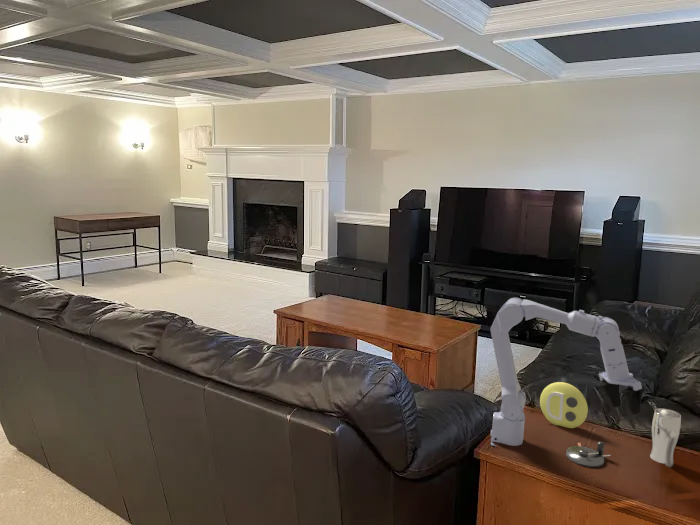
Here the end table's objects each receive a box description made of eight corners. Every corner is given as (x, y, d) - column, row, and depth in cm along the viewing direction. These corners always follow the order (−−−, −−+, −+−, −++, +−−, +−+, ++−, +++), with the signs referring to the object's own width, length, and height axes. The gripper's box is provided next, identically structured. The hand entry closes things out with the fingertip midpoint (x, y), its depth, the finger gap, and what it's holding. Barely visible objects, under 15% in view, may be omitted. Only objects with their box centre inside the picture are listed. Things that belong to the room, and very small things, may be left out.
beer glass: (665, 470, 153) (672, 420, 150) (642, 458, 159) (648, 410, 156) (680, 465, 156) (687, 416, 154) (656, 453, 162) (663, 406, 160)
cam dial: (580, 468, 150) (582, 454, 149) (558, 450, 159) (560, 437, 159) (614, 465, 152) (616, 451, 152) (590, 447, 162) (592, 434, 161)
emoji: (536, 423, 180) (583, 436, 170) (538, 379, 178) (586, 389, 169) (541, 419, 183) (588, 432, 174) (544, 376, 182) (591, 386, 172)
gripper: (646, 362, 144) (658, 411, 144) (609, 354, 158) (620, 399, 159) (623, 369, 143) (635, 419, 143) (588, 361, 157) (599, 406, 157)
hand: (626, 409), depth 151 cm, fingers open, 7 cm apart
